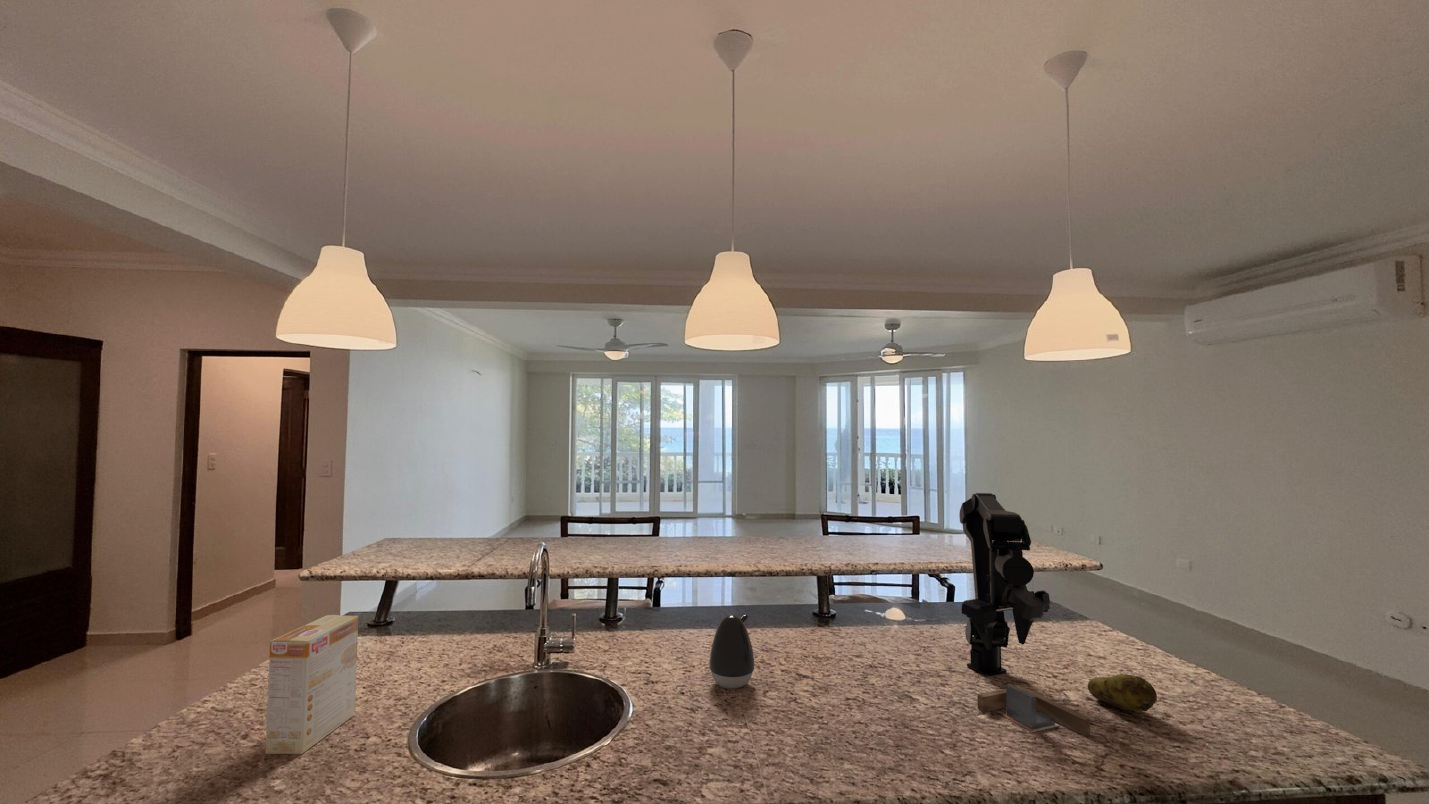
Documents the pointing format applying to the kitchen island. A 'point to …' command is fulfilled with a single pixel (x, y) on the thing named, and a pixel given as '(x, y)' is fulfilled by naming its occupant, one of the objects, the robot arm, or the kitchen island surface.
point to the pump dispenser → (732, 653)
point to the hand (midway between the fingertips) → (1005, 646)
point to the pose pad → (1029, 728)
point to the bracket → (1025, 709)
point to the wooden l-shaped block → (1043, 705)
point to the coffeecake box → (311, 683)
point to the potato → (1124, 692)
